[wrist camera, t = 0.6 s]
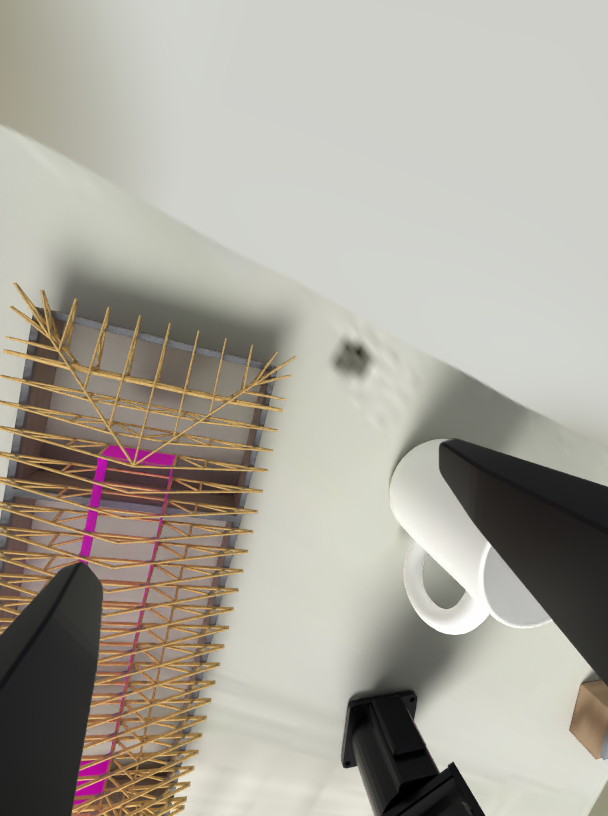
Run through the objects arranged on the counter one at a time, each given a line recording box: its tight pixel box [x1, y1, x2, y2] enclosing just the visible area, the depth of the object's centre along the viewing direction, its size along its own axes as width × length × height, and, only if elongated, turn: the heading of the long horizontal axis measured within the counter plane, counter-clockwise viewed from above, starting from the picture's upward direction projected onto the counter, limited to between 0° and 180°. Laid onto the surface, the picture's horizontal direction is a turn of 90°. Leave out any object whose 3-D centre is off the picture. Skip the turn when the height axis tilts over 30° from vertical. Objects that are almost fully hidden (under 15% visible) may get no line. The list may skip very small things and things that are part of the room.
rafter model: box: [0, 283, 296, 816], centre depth 21 cm, size 35×14×6 cm, turn 166°
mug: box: [389, 439, 553, 635], centre depth 24 cm, size 12×8×10 cm
